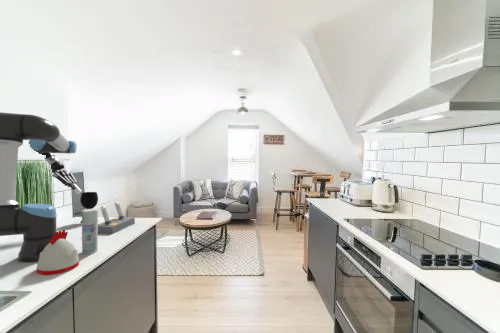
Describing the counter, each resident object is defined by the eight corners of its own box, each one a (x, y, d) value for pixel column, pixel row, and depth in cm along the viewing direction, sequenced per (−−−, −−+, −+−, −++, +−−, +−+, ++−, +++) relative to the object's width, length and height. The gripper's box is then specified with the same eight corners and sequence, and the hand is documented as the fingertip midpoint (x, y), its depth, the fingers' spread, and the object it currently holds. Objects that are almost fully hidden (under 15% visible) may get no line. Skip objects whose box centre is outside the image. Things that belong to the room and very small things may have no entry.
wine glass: (81, 220, 182) (81, 192, 181) (98, 219, 186) (98, 191, 185) (79, 223, 172) (79, 194, 172) (97, 222, 177) (97, 193, 176)
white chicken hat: (86, 261, 112) (86, 227, 112) (60, 276, 98) (60, 237, 98) (57, 259, 113) (57, 226, 113) (27, 273, 100) (26, 235, 99)
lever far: (122, 218, 170) (116, 201, 170) (118, 219, 170) (112, 203, 170) (125, 217, 173) (119, 201, 173) (121, 218, 173) (115, 202, 173)
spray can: (79, 254, 120) (79, 211, 119) (84, 249, 126) (84, 208, 125) (95, 253, 121) (95, 211, 121) (99, 248, 128) (99, 208, 127)
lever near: (108, 223, 156) (102, 205, 156) (104, 225, 156) (98, 207, 156) (111, 222, 159) (105, 204, 159) (107, 223, 159) (101, 206, 159)
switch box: (112, 233, 152) (112, 226, 152) (93, 232, 153) (93, 225, 153) (134, 223, 176) (134, 217, 176) (118, 222, 177) (118, 216, 177)
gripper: (49, 160, 153) (75, 189, 152) (66, 160, 166) (91, 187, 165) (41, 169, 154) (67, 198, 153) (59, 168, 167) (83, 195, 166)
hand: (79, 192), depth 159 cm, fingers closed
